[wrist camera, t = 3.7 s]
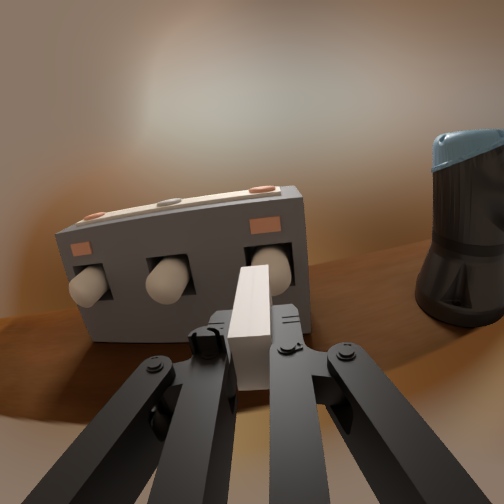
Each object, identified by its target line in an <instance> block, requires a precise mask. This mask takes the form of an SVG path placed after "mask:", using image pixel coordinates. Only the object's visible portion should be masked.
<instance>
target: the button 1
mask: <svg viewBox="0 0 504 504" xmlns="http://www.w3.org/2000/svg"><path fill="white" fill-rule="evenodd" d="M109 288H110V286H109V283H108V280H107V277H106V274H105V270H104V267H103V264H102V263H97V264H91V265H89V266H88V267H87V268H86V269H84V270H83V271H82V272H81V273H79V274H78V275H77V276H76V277H74V278H73V279H72V280H71V281H70V283H69V292H70V295H71V297H72V299H73V300H74V301H75V302H76V303H77V304H78V305H79V306H81V307H84V308H89V307H92V306H93V305H94V304H95V303H96V302H97V301H98V300H99V299H100V297H101V296H102V295H103V294H104V293H105V292H106V291H107V290H108V289H109Z"/></svg>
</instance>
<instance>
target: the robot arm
mask: <svg viewBox="0 0 504 504" xmlns="http://www.w3.org/2000/svg"><path fill="white" fill-rule="evenodd" d="M431 172H433V227H432V242H431V246H430V248H429V251H428V253H427V256H426V258H425V261H424V263H423V266H422V268H421V271H420V273H419V275H418V277H417V281H416V289H415V298H416V301H417V303H418V304H419V306H420V307H421V308H422V309H423V310H424V311H425V312H426V313H428V314H429V315H431V316H432V317H434V318H436V319H438V320H440V321H443V322H446V323H449V324H452V325H456V326H462V327H482V326H487V325H490V324H493V323H495V322H496V321H498V320H499V319H501V317H502V316H503V315H504V129H483V130H468V131H458V132H450V133H445V134H441V135H439V136H438V137H437V138H436V139H435V141H434V143H433V168H432V169H431ZM187 337H188V340H189V344H190V347H191V351H192V357H191V359H189V360H186V361H183V362H178V363H172V361H171V360H170V358H169V357H166V356H153V357H150V358H148V359H146V360H144V361H143V362H142V363H141V364H140V365H139V366H138V368H137V369H136V370H135V371H134V372H133V373H132V374H131V376H130V377H129V378H128V379H127V380H126V381H125V382H124V384H123V385H122V386H121V387H120V388H119V389H118V391H117V392H116V393H115V394H114V395H113V396H112V397H111V399H110V400H109V401H108V402H107V403H106V404H105V406H104V407H103V408H102V409H101V410H100V411H99V413H98V414H97V415H96V416H95V417H94V418H93V419H92V421H91V422H90V423H89V424H88V425H87V426H86V428H85V429H84V430H83V431H82V432H81V433H80V435H79V436H78V437H77V438H76V439H75V441H74V442H73V443H72V444H71V445H70V446H69V448H68V449H67V450H66V451H65V452H64V453H63V455H62V456H61V457H60V458H59V459H58V460H57V462H56V463H55V464H54V465H53V467H52V468H51V469H50V470H49V471H48V472H47V474H46V475H45V476H44V477H43V478H42V479H41V481H40V482H39V483H38V484H37V486H36V487H35V488H34V489H33V490H32V491H31V493H30V494H29V495H28V496H27V497H26V499H25V500H24V501H23V502H22V503H21V504H134V503H135V501H136V499H137V498H138V497H139V495H140V493H141V492H142V490H143V489H144V487H145V486H146V484H147V482H148V481H149V479H150V478H151V476H152V474H153V473H154V471H155V469H156V468H157V471H156V474H155V478H154V481H153V485H152V488H151V492H150V495H149V499H148V503H147V504H227V500H228V490H229V480H230V471H231V461H232V452H233V442H234V432H235V422H236V413H237V403H238V399H237V394H236V386H238V391H245V390H264V389H270V485H269V486H270V487H269V504H330V498H329V489H328V481H327V474H326V467H325V459H324V452H323V446H322V439H321V431H320V425H319V418H318V413H317V406H316V404H323V405H325V406H326V409H327V411H328V413H329V414H330V416H331V418H332V420H333V421H334V423H335V425H336V427H337V429H338V430H339V432H340V434H341V436H342V438H343V439H344V441H345V443H346V445H347V447H348V448H349V450H350V452H351V454H352V455H353V457H354V459H355V460H356V462H357V464H358V466H359V468H360V470H361V471H362V473H363V475H364V477H365V478H366V480H367V482H368V484H369V485H370V487H371V489H372V491H373V492H374V494H375V496H376V498H377V499H378V501H379V503H380V504H492V503H491V502H490V501H489V499H488V498H487V497H486V495H484V493H483V492H482V490H481V489H480V488H479V487H478V485H477V484H476V483H475V482H474V480H473V479H472V478H471V477H470V475H469V474H468V473H467V472H466V470H465V469H464V468H463V467H462V466H461V464H460V463H459V462H458V461H457V459H456V458H455V457H454V456H453V455H452V453H451V452H450V451H449V450H448V448H447V447H446V446H445V445H444V443H443V442H442V441H441V440H440V439H439V437H438V436H437V435H436V434H435V433H434V431H433V430H432V429H431V428H430V427H429V425H428V424H427V423H426V422H425V421H424V420H423V418H422V417H421V416H420V415H419V413H418V412H417V411H416V410H415V409H414V408H413V406H412V405H411V404H410V403H409V402H408V401H407V399H406V398H405V397H404V396H403V395H402V394H401V392H400V391H399V390H398V389H397V388H396V386H395V385H394V384H393V383H392V382H391V381H390V379H389V378H388V377H387V376H386V375H385V374H384V372H383V371H382V370H381V369H380V368H379V367H378V365H377V364H376V363H375V362H374V361H373V360H372V358H371V357H370V356H369V355H368V354H367V353H366V352H365V350H364V349H363V348H362V347H360V346H359V345H357V344H354V343H347V342H344V343H338V344H336V345H334V346H332V347H331V348H330V349H329V350H328V352H320V351H315V350H312V349H310V348H309V347H307V346H306V345H305V343H304V340H303V335H302V329H301V324H300V319H299V313H298V309H297V308H296V307H295V306H294V305H293V304H284V305H274V306H273V304H272V295H271V285H270V275H269V266H268V265H258V266H247V267H241V270H240V275H239V280H238V285H237V290H236V295H235V301H234V306H233V310H221V311H216V312H215V313H214V314H213V315H212V316H211V317H210V320H209V325H208V326H203V327H199V328H197V329H195V330H193V331H192V332H190V334H189V335H188V336H187ZM157 466H158V467H157Z"/></svg>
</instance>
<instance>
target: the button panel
mask: <svg viewBox="0 0 504 504" xmlns="http://www.w3.org/2000/svg"><path fill="white" fill-rule="evenodd" d="M55 237H56V241H57V245H58V248H59V252H60V255H61V258H62V261H63V265H64V268H65V271H66V274H67V277H68V280H69V283H70V281H71V280H72V279H73V278H74V277H76V276H77V275H78V274H79V273H81V272H82V271H83V270H84V269H86V268H87V267H88V266H89V265H91V264H97V263H102V264H103V267H104V270H105V274H106V277H107V280H108V283H109V286H110V288H109V289H108V290H107V291H106V292H105V293H104V294H103V295H102V296H101V297H100V299H99V300H98V301H97V302H96V303H95V304H94V305H93V306H92V307H89V308H84V307H81V306H79V305H78V304H77V305H78V308H79V310H80V313H81V315H82V318H83V320H84V323H85V325H86V328H87V330H88V332H89V335H90V337H91V339H92V341H96V342H132V343H164V342H189V340H188V337H187V336H188V335H189V334H190V332H192V331H193V330H195V329H197V328H199V327H203V326H208V325H209V320H210V317H211V316H212V315H213V314H214V313H215V312H216V311H221V310H233V306H234V301H235V295H236V290H237V285H238V280H239V275H240V270H241V267H247V266H251V263H252V255H253V251H254V249H255V248H256V247H257V246H259V245H268V244H277V243H280V244H281V245H282V246H283V247H284V248H285V250H286V252H287V256H288V261H289V266H290V271H291V283H290V285H289V287H288V288H287V289H286V290H285V291H284V292H283V293H281V294H279V295H277V296H272V304H273V306H274V305H284V304H293V305H294V306H295V307H296V308H297V309H298V313H299V319H300V324H301V329H302V334H305V333H311V311H310V289H309V270H308V255H307V242H306V241H307V240H306V227H305V215H304V203H303V197H302V195H301V194H300V192H299V191H298V190H297V189H296V187H295V186H285V187H275V186H262V187H255V188H251V189H249V190H245V191H237V192H229V193H221V194H215V195H207V196H201V197H194V198H188V199H181V198H175V199H170V200H165V201H162V202H159V203H156V204H151V205H145V206H140V207H134V208H128V209H124V210H118V211H113V212H108V213H105V212H100V213H95V214H92V215H89V216H86V217H84V220H82V221H79V222H77V223H76V224H74V225H72V226H70V227H68V228H66V229H64V230H62V231H60V232H58V233H56V234H55ZM176 254H186V255H187V256H188V258H189V263H190V268H191V272H192V276H191V278H190V280H189V282H188V283H187V285H186V287H185V289H184V291H183V293H182V295H181V297H180V298H179V300H178V301H176V302H175V303H173V304H168V305H165V304H161V303H158V302H156V301H155V300H153V299H152V298H151V297H150V295H149V294H148V292H147V289H146V279H147V277H148V275H149V274H150V273H151V272H152V271H153V269H154V268H155V267H156V266H157V265H158V264H159V262H160V261H161V260H162V259H163V258H164V256H167V255H176Z"/></svg>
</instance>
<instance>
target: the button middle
mask: <svg viewBox="0 0 504 504" xmlns="http://www.w3.org/2000/svg"><path fill="white" fill-rule="evenodd" d="M191 276H192V272H191V268H190V263H189V258H188V256H187V255H186V254H176V255H167V256H164V258H163V259H162V260H161V261H160V262H159V264H158V265H157V266H156V267H155V268H154V269H153V271H152V272H151V273H150V274H149V275H148V277H147V279H146V289H147V292H148V294H149V295H150V297H151V298H152V299H153V300H155V301H156V302H158V303H161V304H165V305H168V304H173V303H175V302H176V301H178V300H179V298H180V297H181V295H182V293H183V291H184V289H185V287H186V285H187V283H188V282H189V280H190V278H191Z"/></svg>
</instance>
